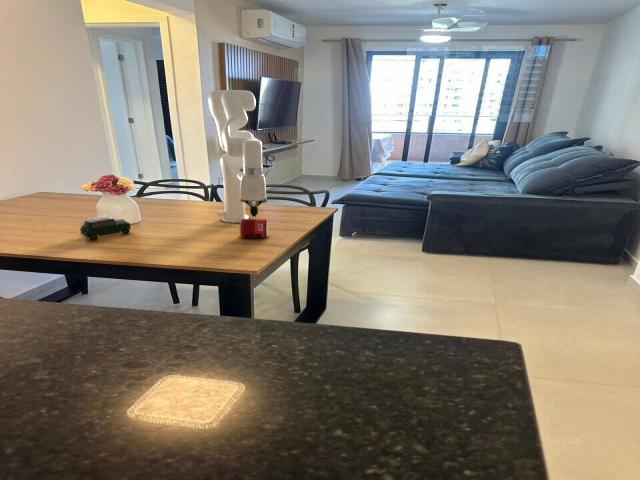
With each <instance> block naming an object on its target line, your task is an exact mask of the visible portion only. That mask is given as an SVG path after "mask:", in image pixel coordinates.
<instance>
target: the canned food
mask: <svg viewBox="0 0 640 480" xmlns="http://www.w3.org/2000/svg"><path fill="white" fill-rule="evenodd" d="M268 226H269V225H268V219H266V218H249V219H240V222H239V226H238V227H239V237H240V239H265V238H268V233H269V232H268V231H269V229H268V228H269V227H268Z"/></svg>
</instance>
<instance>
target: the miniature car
mask: <svg viewBox="0 0 640 480" xmlns="http://www.w3.org/2000/svg"><path fill="white" fill-rule="evenodd" d="M130 230H132V226H131V223H130V222H128V221H126V220H125V219H122V218H121V219H120V218H119V219H115V218H114V217H113V216H111V215H107V214H106V215H97V216H92V217H88V218H85V220H84V222H83V224H82V225H81V226H80V229H79V231H80V232H79V234H80V236H81V237H83V238H84V239H85V238H87V239H89V240H90V241H92V242H95V241H96V240H98V237H103V236H109V235H115V234H119V233H121V234H122V235H124V236H125V235H129V234H130V232H131V231H130Z"/></svg>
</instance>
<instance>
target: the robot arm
mask: <svg viewBox="0 0 640 480" xmlns="http://www.w3.org/2000/svg"><path fill="white" fill-rule="evenodd" d="M207 101H208V109H209V111H210V113H211V116H212V117H213V120H214V122H215V125H216V130H217V136H218V141H219V146H220V148H221V150H222V151H224V152H225V153H224V154H223V155H221V156H220V159H219V165H220V169H221V175H222V185H223V201H224V202H223V203H224V209H223V210H215V215H217V216H219V217H220V216H222V217H221V220H222V221H223V222H225V223H230V224H234V223H235V224H236V223H240V219H250V218H249V215H248V214H246V204H247V206H248V207H249V213H250V215H251V217H252V218H253V217H255V218H256V217H257V215H258V214H259V206H260V205H261V204H264V203H267V202H268V197H267V183H266V177H265V175H264V174H263V142H262V141H261V140H260V139H258V138H256V137H254V135H253V134H252V133H251V131H249V130H240V129H242V128H244V127H245V126H246V125H247V124H248V121H249V117H248V114H247V112H252V111H254V110H255V109H256V106H257V105H256V103H257V102H256V97H255V95H254V93H253V92H252V91H250V90H242V89H216V90H212V91H210V92H209V94H208V97H207ZM239 175H241V176H239ZM253 201H254V202H253Z"/></svg>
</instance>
